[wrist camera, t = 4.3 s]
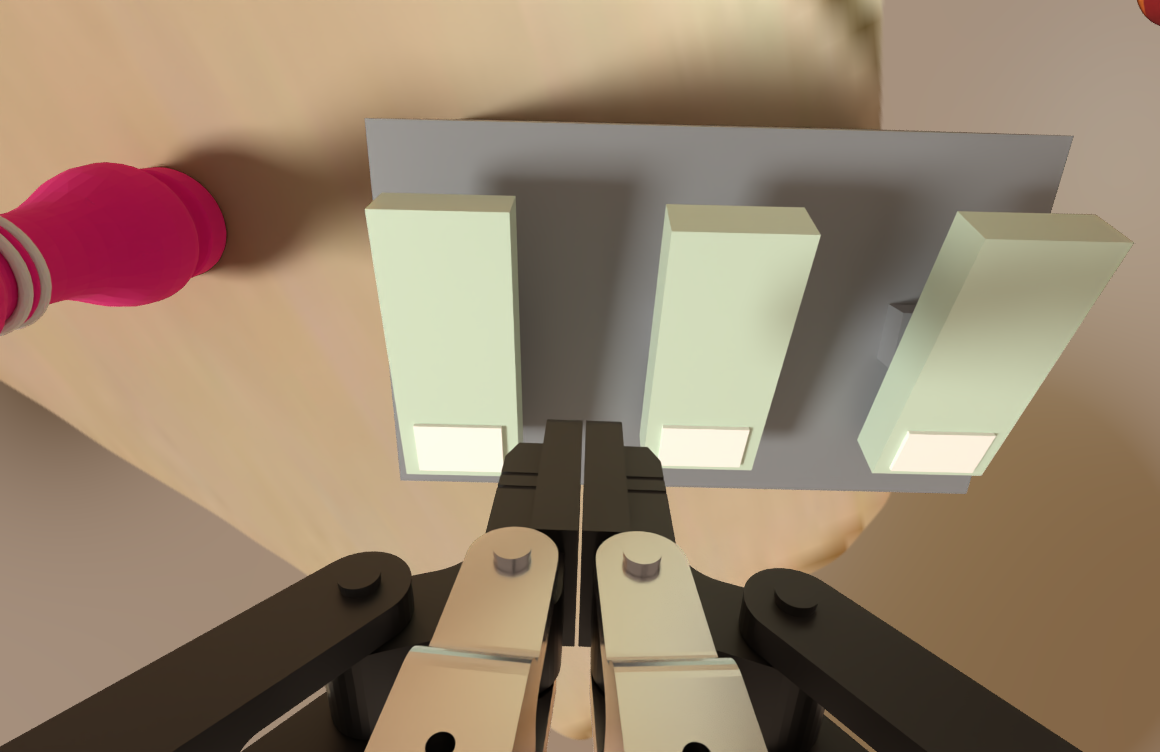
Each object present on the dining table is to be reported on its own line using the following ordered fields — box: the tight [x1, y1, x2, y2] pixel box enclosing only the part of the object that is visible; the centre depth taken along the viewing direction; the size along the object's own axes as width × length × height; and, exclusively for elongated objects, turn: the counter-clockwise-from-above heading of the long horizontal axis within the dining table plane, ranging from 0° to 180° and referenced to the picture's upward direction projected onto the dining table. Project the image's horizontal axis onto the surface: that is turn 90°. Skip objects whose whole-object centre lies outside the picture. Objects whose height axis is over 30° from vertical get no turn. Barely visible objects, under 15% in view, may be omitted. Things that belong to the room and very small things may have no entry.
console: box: [365, 118, 1073, 494], centre depth 29 cm, size 13×22×17 cm, turn 89°
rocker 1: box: [365, 193, 523, 476], centre depth 19 cm, size 9×4×2 cm, turn 179°
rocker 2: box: [640, 204, 821, 470], centre depth 19 cm, size 9×4×2 cm, turn 179°
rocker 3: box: [857, 211, 1134, 476], centre depth 19 cm, size 9×4×2 cm, turn 179°
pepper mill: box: [0, 162, 226, 336], centre depth 27 cm, size 7×7×20 cm
